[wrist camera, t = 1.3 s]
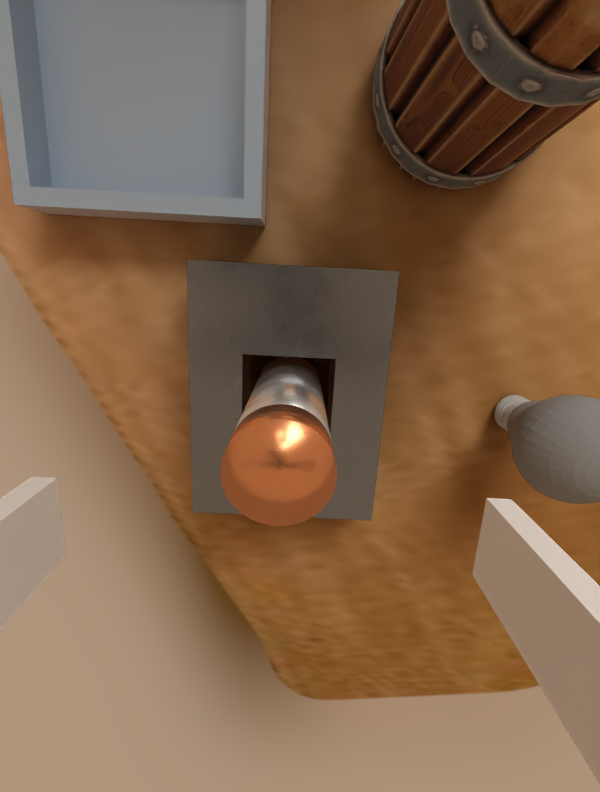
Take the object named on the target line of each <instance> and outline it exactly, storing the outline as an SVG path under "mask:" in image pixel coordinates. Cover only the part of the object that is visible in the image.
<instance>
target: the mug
mask: <svg viewBox="0 0 600 792" xmlns="http://www.w3.org/2000/svg"><path fill="white" fill-rule="evenodd" d="M599 100H600V0H403V1H402V2H401V3H400V5H399V8H398V10H397V12H396V14H395V16H394V18H393V20H392V22H391V25H390V27H389V29H388V31H387V33H386V36H385V38H384V40H383V42H382V44H381V46H380V49H379V52H378V56H377V61H376V66H375V71H374V75H373V94H372V107H373V116H374V121H375V125H376V130H377V131H378V132H379V133H380V135H381V137H382V138H383V143H382V145H383V147H384V148H385V150H386V152H387V154H388V155H389V157H390V158H391V160H392V161H393V162H394V163H395V164H396V165H397V166H398V168H399V169H400V170H406V171H407V172H408V173H410V175H411V178H412V179H414V180H416V181H417V182H419V183H421V184H423V185H426V186H429V187H433V188H437V189H440V188H441V187H444V188H448V189H452V190H458V189H467V188H472V187H476V186H479V185H482V184H485V183H487V182H490V181H493V180H496V179H498V178H499V177H501V176H502V175H504V174H505V173H506V172H508V171H509V170H511V169H512V168H514V167H515V166H517V165H518V164H520V163H521V162H522V161H524V160H525V159H526V158H528V157H529V156H531V155H532V154H533V153H534V152H535V151H536V150H537V149H538V148H539V147H540V146H541V144H542V143H543V142H544V141H545V140H546V139H548V138H549V137H550V136H552V135H553V134H554V133H556V132H557V131H558V130H560V129H561V128H563V127H564V126H565V125H567V124H568V123H569V122H571V121H572V120H573V119H575V118H576V117H577V116H579V115H580V114H581V113H583V112H584V111H585V110H587V109H588V108H589V107H591V106H592V105H593V104H595V103H596V102H597V101H599Z"/></svg>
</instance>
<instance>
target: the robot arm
mask: <svg viewBox="0 0 600 792" xmlns="http://www.w3.org/2000/svg"><path fill="white" fill-rule="evenodd" d="M65 557H66V551H65V542H64V533H63V523H62V514H61V505H60V496H59V487H58V478H54V477H34V476H32V477H31V478H29V479H28V480H26V481H25V482H23V483H22V484H20V485H19V486H18V487H16V488H15V489H13V490H12V491H10V492H9V493H7V494H6V495H4V496H3V497H2V498H0V630H1V629H2V628H3V627H4V626H5V624H7V623H8V621H9V620H10V619H11V618H12V617H13V616H14V615H15V613H16V612H17V611H18V610H19V609H20V608H21V607H22V606H23V604H24V603H25V602H26V601H27V600H28V599H29V598H30V596H31V595H32V594H33V593H34V592H35V591H36V590H37V589H38V587H39V586H40V585H41V584H42V583H43V582H44V581H45V580H46V578H47V577H48V576H49V575H50V574H51V572H52V571H53V570H54V569H55V568H56V567H57V566H58V565H59V564H60V563H61V561H62V560H63V559H64V558H65ZM472 575H473V577H474V578H475V580H476V582H477V583H478V585H479V586H480V588H481V590H482V591H483V593H484V595H485V596H486V598H487V600H488V601H489V603H490V605H491V606H492V608H493V610H494V611H495V613H496V614H497V616H498V618H499V619H500V621H501V623H502V624H503V626H504V628H505V629H506V631H507V633H508V634H509V636H510V637H511V639H512V641H513V642H514V644H515V646H516V647H517V649H518V651H519V652H520V654H521V656H522V657H523V659H524V660H525V662H526V664H527V665H528V667H529V669H530V670H531V672H532V674H533V675H534V677H535V679H536V680H537V682H538V683H539V685H540V687H541V688H542V690H543V692H544V693H545V695H546V697H547V698H548V700H549V701H550V703H551V705H552V706H553V708H554V710H555V711H556V713H557V715H558V716H559V718H560V720H561V721H562V723H563V724H564V726H565V728H566V729H567V731H568V732H569V734H570V736H571V738H572V739H573V741H574V743H575V744H576V746H577V748H578V749H579V751H580V752H581V754H582V756H583V757H584V759H585V761H586V762H587V764H588V766H589V767H590V769H591V771H592V772H593V774H594V775H595V777H596V779H597V780H598V782H599V784H600V586H599V585H598V584H597V583H596V582H595V581H594V580H593V579H592V578H591V577H590V576H589V575H588V574H587V573H586V572H585V571H584V570H583V569H582V568H581V567H580V566H579V565H578V564H577V563H576V562H575V561H574V560H573V559H572V558H571V557H570V556H569V555H568V554H566V553H565V552H564V551H563V550H562V549H561V548H560V547H559V546H558V545H557V544H556V543H555V542H554V541H553V540H552V539H551V538H550V537H549V536H548V535H547V534H546V533H545V532H544V531H543V530H542V529H541V528H540V527H539V526H538V525H537V524H536V523H535V522H534V521H533V520H532V519H531V518H530V517H529V516H528V515H527V514H526V513H525V512H524V511H523V510H522V509H521V508H520V507H519V506H518V505H517V504H516V503H515V502H514V501H513V500H512V499H497V498H486V504H485V509H484V514H483V520H482V525H481V530H480V536H479V541H478V546H477V552H476V557H475V562H474V568H473V573H472Z"/></svg>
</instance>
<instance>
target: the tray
mask: <svg viewBox="0 0 600 792" xmlns="http://www.w3.org/2000/svg"><path fill="white" fill-rule="evenodd" d="M271 5H272V0H0V95H1V103H2V111H3V119H4V127H5V135H6V143H7V151H8V159H9V167H10V175H11V183H12V191H13V199H14V205H17V206H20V207H24V208H27V209H31V210H34V211H38V212H41V213H45V214H57V215H75V216H92V217H110V218H128V219H146V220H164V221H182V222H200V223H218V224H236V225H254V226H265V225H266V188H267V152H268V115H269V78H270V41H271Z"/></svg>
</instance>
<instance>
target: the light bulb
mask: <svg viewBox="0 0 600 792" xmlns="http://www.w3.org/2000/svg"><path fill="white" fill-rule="evenodd" d="M494 415H495V420H496V422H497V424H498V425H499V426H500V427H502V428H503V429H504V430H506V431H507V432H508V434H509V437H510V438H511V440H512V445H511V448H512V456H513V459H514V462H515V464H516V466H517V468H518V470H519V472H520V473H521V475H522V476H523V477H524V479H525V480H526V481H527V482H528V483H529V484H530V485H531V486H532V487H533V488H535V489H536V490H537V491H539V492H540V493H542V494H544V495H545V496H547V497H550V498H553V499H556V500H559V501H562V502H568V503H576V504H585V503H595V502H600V400H599V399H597V398H594V397H589V396H582V395H560V396H556V397H551V398H549V399H546V400H543V401H530V400H528V399H526V398H524V397H522V396H519V395H511V396H507V397H505V398H504V399H502V400H501V401H500V402H499V403H498V405H497V406H496V409H495V414H494Z"/></svg>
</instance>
